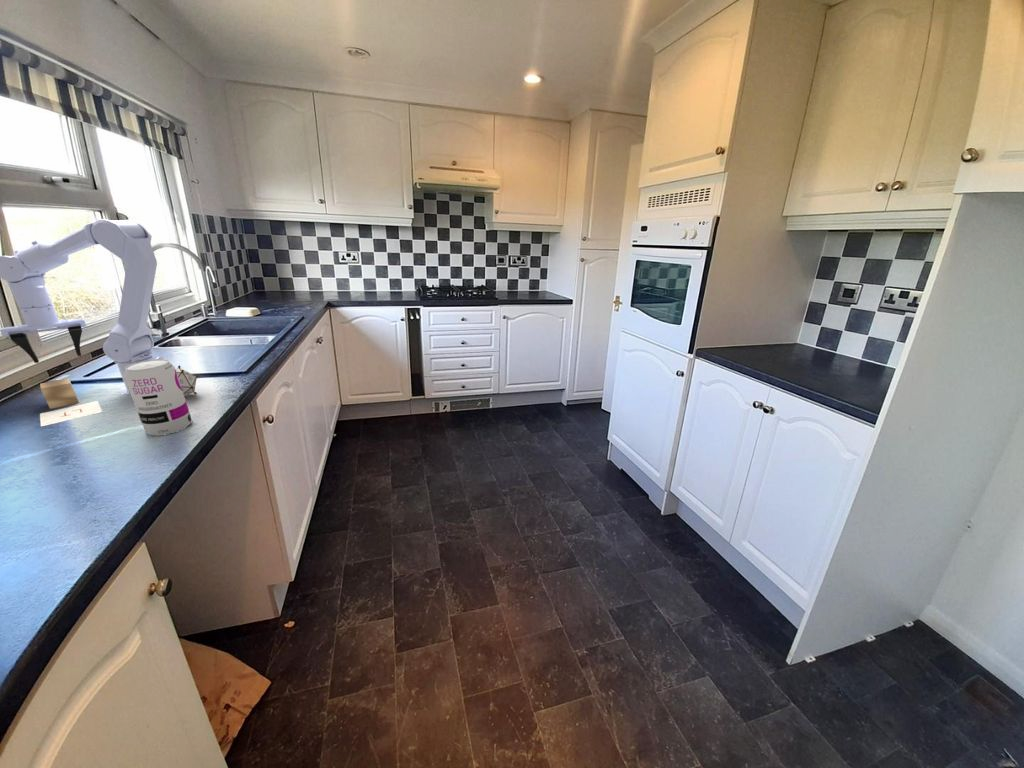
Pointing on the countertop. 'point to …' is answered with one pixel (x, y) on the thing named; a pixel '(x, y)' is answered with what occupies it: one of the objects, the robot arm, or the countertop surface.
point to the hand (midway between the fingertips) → (58, 358)
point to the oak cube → (59, 393)
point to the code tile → (69, 413)
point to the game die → (186, 381)
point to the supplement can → (158, 396)
